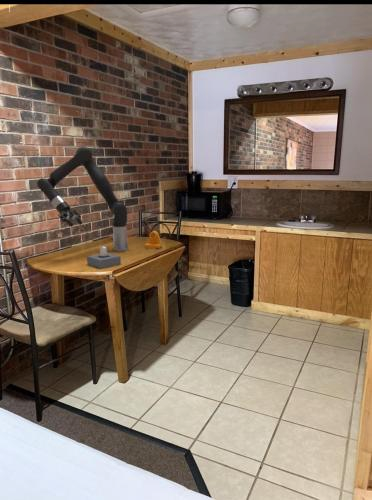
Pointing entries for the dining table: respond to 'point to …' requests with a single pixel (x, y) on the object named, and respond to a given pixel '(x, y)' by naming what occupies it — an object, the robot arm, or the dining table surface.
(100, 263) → the socket block
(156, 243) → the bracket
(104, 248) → the steel pin
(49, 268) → the dining table surface
